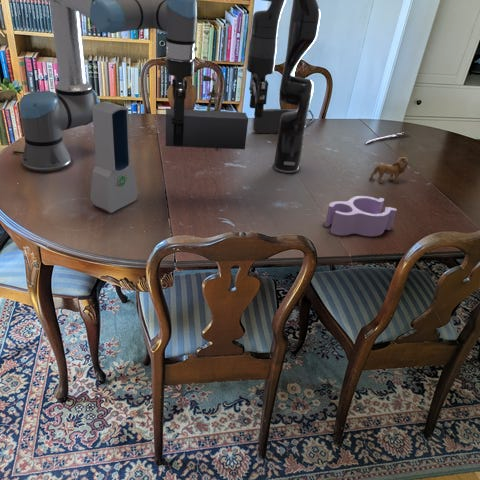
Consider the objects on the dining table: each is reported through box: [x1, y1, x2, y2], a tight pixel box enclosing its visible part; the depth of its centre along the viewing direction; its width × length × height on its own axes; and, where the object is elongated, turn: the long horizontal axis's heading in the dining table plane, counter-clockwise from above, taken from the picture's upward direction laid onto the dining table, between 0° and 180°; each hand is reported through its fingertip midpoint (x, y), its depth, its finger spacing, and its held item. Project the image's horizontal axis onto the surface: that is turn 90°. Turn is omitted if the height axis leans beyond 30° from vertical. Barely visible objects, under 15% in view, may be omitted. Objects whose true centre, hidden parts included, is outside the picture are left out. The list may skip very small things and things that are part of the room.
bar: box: [165, 108, 249, 150], centre depth 137 cm, size 23×5×9 cm, turn 98°
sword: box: [365, 132, 410, 145], centre depth 213 cm, size 31×3×1 cm, turn 126°
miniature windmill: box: [202, 67, 222, 150], centre depth 180 cm, size 9×8×30 cm
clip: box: [324, 195, 398, 237], centre depth 141 cm, size 20×12×7 cm, turn 109°
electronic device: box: [89, 101, 139, 214], centre depth 133 cm, size 12×8×30 cm, turn 148°
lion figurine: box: [368, 156, 409, 184], centre depth 171 cm, size 15×5×9 cm, turn 110°
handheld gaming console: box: [252, 108, 298, 134], centre depth 205 cm, size 23×3×10 cm, turn 108°
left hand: (177, 140), depth 138 cm, fingers closed on bar, 5 cm apart
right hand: (255, 112), depth 136 cm, fingers open, 8 cm apart
